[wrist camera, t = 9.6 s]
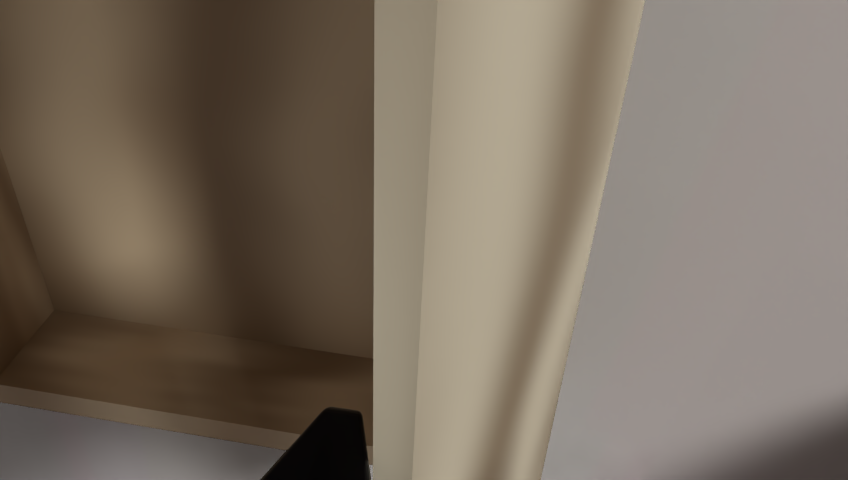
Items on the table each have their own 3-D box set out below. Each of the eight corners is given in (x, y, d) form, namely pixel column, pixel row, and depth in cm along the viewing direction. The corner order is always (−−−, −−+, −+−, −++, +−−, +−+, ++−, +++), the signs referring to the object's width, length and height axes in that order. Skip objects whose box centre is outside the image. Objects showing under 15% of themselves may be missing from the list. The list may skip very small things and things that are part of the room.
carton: (685, -499, 12) (721, -558, 9) (527, 381, 24) (519, 489, 21) (-230, -525, 14) (-474, -583, 11) (50, 308, 26) (-24, 398, 23)
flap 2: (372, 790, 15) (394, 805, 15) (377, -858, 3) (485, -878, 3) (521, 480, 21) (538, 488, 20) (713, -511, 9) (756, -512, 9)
